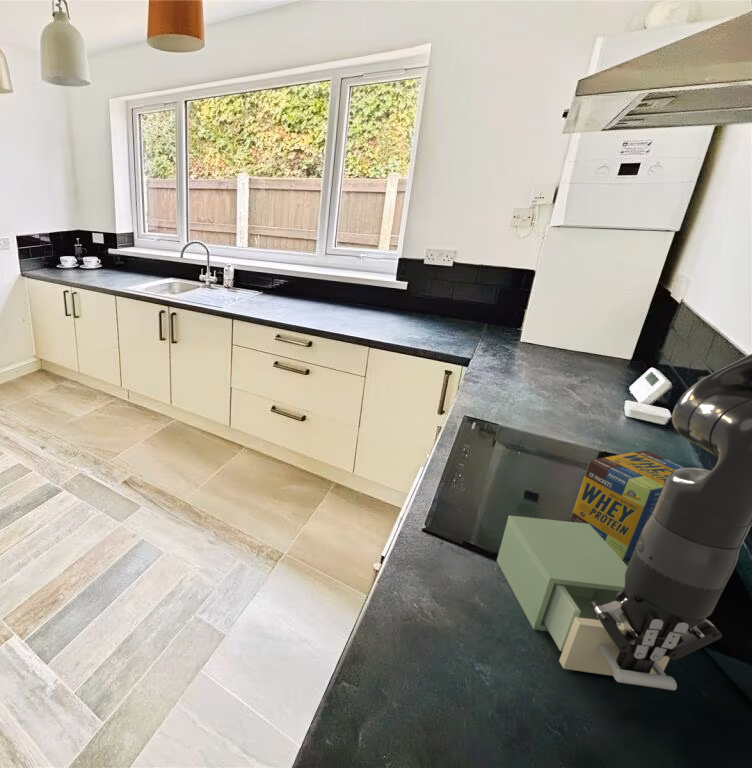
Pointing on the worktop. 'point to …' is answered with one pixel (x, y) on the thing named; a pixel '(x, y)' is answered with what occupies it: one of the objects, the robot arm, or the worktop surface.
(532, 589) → the cabinet
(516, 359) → the worktop surface
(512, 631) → the worktop surface
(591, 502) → the protein box
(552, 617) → the drawer
